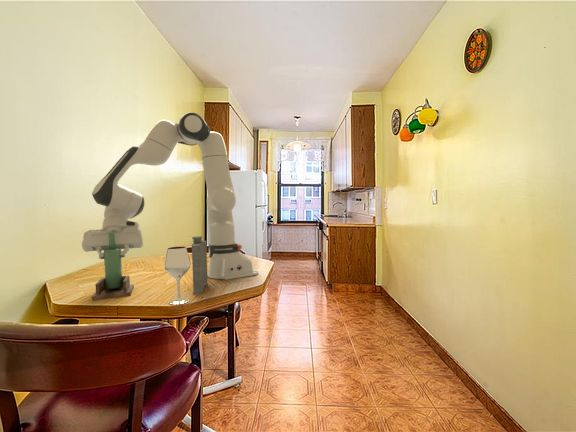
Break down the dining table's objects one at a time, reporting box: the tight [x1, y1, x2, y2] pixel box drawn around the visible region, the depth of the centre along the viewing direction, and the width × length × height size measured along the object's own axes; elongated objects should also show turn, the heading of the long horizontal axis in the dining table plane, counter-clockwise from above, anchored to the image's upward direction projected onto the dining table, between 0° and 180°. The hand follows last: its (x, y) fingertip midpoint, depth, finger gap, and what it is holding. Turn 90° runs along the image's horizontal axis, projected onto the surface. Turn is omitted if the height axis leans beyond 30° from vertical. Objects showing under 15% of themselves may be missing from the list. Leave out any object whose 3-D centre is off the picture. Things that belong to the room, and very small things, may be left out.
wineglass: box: [163, 246, 192, 306], centre depth 102 cm, size 8×8×18 cm
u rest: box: [91, 274, 135, 301], centre depth 115 cm, size 12×12×5 cm
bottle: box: [103, 233, 123, 289], centre depth 115 cm, size 6×6×20 cm
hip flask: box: [191, 236, 209, 295], centre depth 118 cm, size 16×4×20 cm, turn 6°
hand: (112, 257), depth 114 cm, fingers closed on bottle, 5 cm apart
